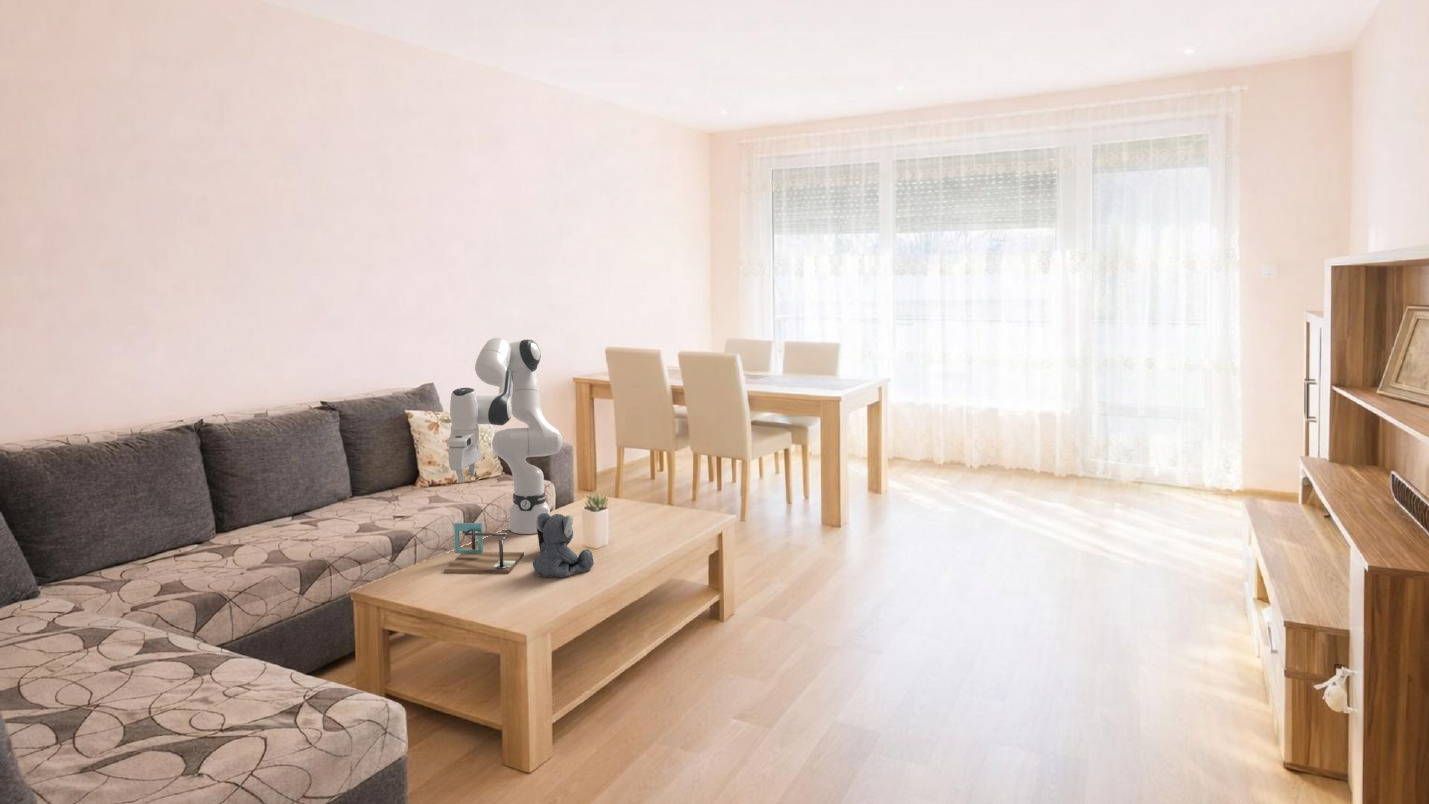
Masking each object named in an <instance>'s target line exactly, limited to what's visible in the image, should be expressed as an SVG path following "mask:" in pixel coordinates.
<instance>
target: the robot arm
mask: <svg viewBox="0 0 1429 804" xmlns="http://www.w3.org/2000/svg"><path fill="white" fill-rule="evenodd" d="M541 357H542V356H541V350H540V347H539V345H538V343H536V342H535V341H534V340H532V339H522V340H521V341H520V340H519V341H513V342H510V343H509V342H508V341H507V340H506V339H504V338H501V337H493V338H491V339H489V340H488V341H487V342H486V343H485V344H484V345H483V347H482V349H481V350H480V351H479V354H478V355H477V358H476V361H475V365H474V370H475V374H476V376H477V377H478V378H479V380H480V381H482V382H484V383H485V384H487V385H491V386H495V387H499V390H498V394H496V395H477V394H476V390H475V389H474V388H472V387H461V388H460V387H459V388H456V389H454V390H453V391H452V392H451V395H450V400H449V401H450V405H449V406H450V407H449V414H450V421H451V425H450V435H449V437H448V438H447V440H446V447H448V455H447V456H448V464H449V469H450V470H451V471H455V472H456V475H457V481H458V483H464V482H465V481H466V475H465V474H464V471H465V469H466V468H467V467H468V471H467V475H468V477H473V476H475V473H476V472H475V471H476V465H477V462H479V461H480V460H481V458H482V453H481V445H480V431H479V425H492V426H504V425H505V424H507V423H508V422H509V421H511V418H512V417H514V418H515V419H516V420H518V421H520V422H521V423H524V424H526V426H528V427H517V428H506V429H501V430H498V431H496V433H494V435H493V437H492V441H491V446H492V450H493V452H494V453H495V455H496V456H498V457H499V458H500V459H501V460H503V461H505V463H506V464H507V466H508V467H509V469H510V471H511V475H512V481H513V482H512V483H513V493H512V502H513V504H512V505H511V507H510V508H509V514H508V515H509V516H508V517H509V519H508V520H509V521H508V524H507V525H506V526H505V530H507V531H511V532H512V533H515V534H520V535H526V534H527V535H531V534H532V535H533V534H537V527H536V519H537V516H538V514H539V513H541V512H545V513H548V514H549V515H550V516H551V508H550V505H549V504H548V503H547V499H546V498H547V495H546V489H545V483H544V482H545V481H544V480H545V478H544V477H545V475H544V472H543V471H542V469H541V468H539V467H537V466H536V465H533V464H531V463H529V462H528V461H527V460H526V459H527V458H534V457H536V458H537V457H546V456H551V455H555V454H558V453H559V452H560V451H561V449H562V446H563V443H564V441H563V440H564V439H563V436H562V434H561V432H560V431H559V429H557V428H556V427H554V426H553V425H552V424H550V422H548V420H547V418H545V416H544V413H543V410H542V404H541V391H540V384H539V383H540V382H539V380H538V379H539V378H538V375H537V373H536V370H537V368H538V365H539V364H540V361H541Z"/></svg>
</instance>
